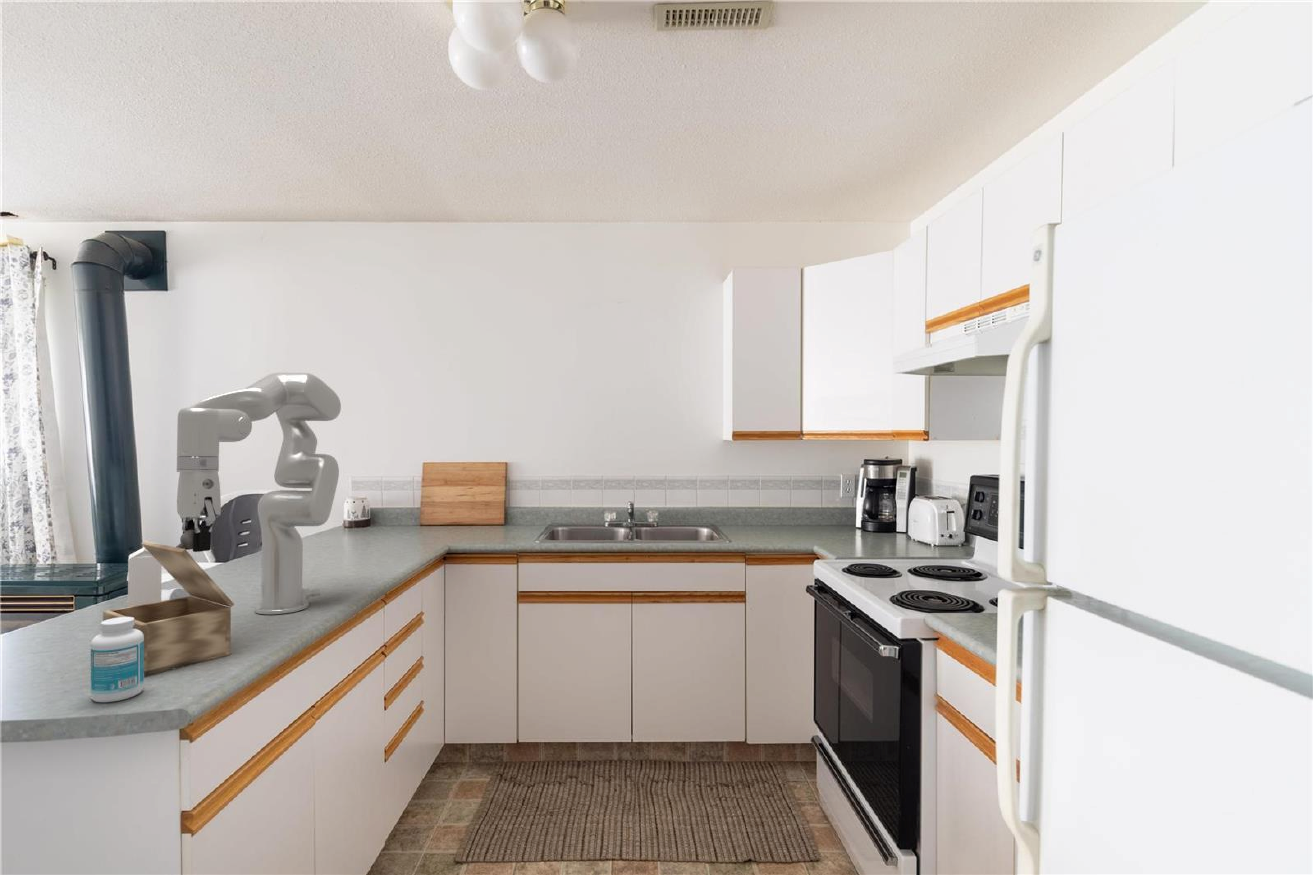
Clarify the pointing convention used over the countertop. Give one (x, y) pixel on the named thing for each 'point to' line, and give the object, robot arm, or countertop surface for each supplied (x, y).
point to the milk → (143, 578)
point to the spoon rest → (173, 594)
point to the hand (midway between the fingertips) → (196, 549)
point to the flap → (187, 569)
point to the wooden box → (179, 631)
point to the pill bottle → (117, 661)
